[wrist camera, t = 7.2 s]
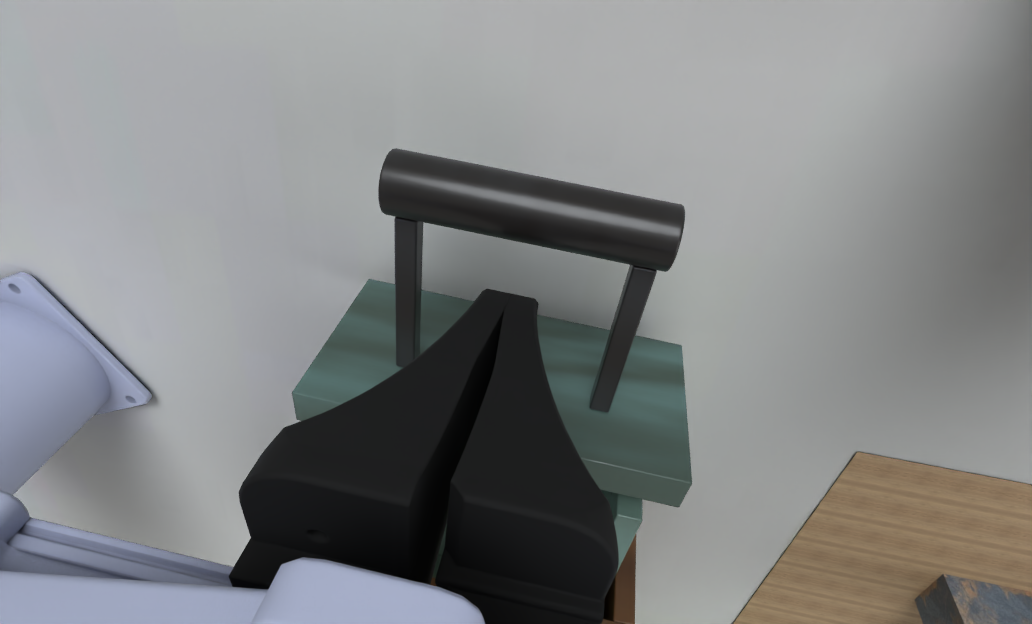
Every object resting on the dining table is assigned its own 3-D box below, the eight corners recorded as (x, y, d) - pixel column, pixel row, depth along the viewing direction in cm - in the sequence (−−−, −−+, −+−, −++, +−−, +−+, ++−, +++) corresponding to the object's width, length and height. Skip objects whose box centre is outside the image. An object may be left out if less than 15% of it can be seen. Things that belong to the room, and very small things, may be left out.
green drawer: (359, 86, 16) (251, 169, 12) (757, 162, 16) (802, 281, 11) (377, 480, 28) (327, 595, 24) (603, 533, 28) (595, 662, 23)
